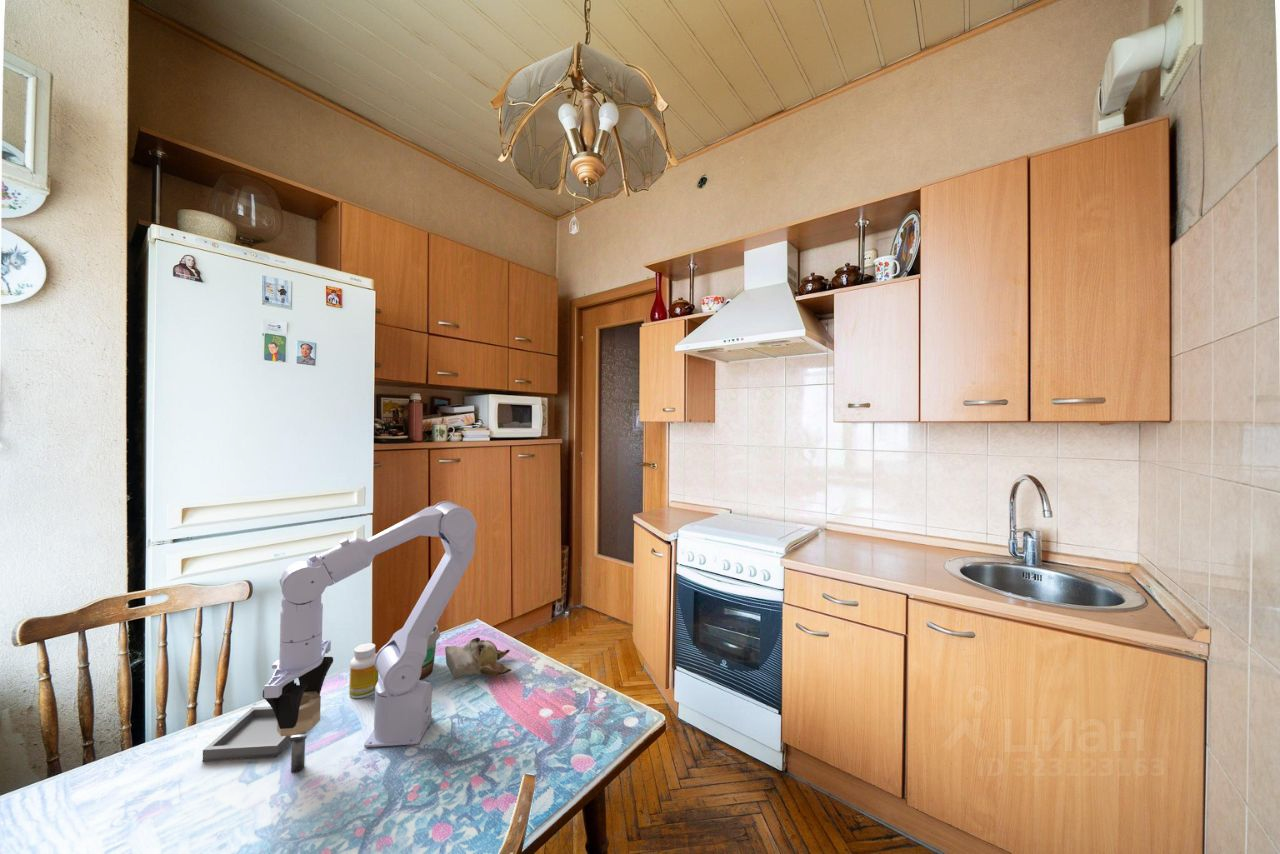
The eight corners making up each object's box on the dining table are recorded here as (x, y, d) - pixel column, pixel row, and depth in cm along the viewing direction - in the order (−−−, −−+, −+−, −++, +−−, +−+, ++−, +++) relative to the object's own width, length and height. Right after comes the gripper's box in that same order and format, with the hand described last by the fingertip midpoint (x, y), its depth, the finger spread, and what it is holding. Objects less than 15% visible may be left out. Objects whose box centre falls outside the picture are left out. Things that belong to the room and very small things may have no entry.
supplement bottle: (380, 693, 97) (381, 648, 97) (351, 702, 94) (352, 656, 94) (375, 681, 101) (376, 639, 101) (347, 690, 98) (348, 646, 98)
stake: (307, 764, 76) (308, 731, 76) (301, 772, 75) (302, 739, 75) (293, 765, 76) (294, 732, 76) (287, 773, 74) (288, 739, 74)
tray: (315, 714, 89) (316, 704, 89) (276, 757, 78) (277, 745, 78) (252, 717, 88) (252, 707, 88) (202, 761, 76) (202, 749, 76)
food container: (415, 691, 98) (416, 646, 98) (390, 687, 99) (392, 642, 99) (449, 662, 110) (451, 622, 110) (427, 659, 111) (429, 619, 111)
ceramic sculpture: (448, 629, 109) (511, 626, 114) (444, 665, 109) (508, 660, 113) (443, 651, 99) (513, 646, 103) (440, 690, 99) (510, 684, 103)
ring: (325, 713, 78) (325, 690, 78) (306, 734, 73) (307, 710, 73) (291, 715, 78) (292, 692, 78) (270, 736, 72) (271, 712, 72)
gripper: (302, 617, 82) (300, 690, 82) (243, 658, 68) (240, 747, 68) (343, 616, 83) (341, 689, 83) (293, 656, 69) (291, 744, 69)
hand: (299, 715), depth 75 cm, fingers closed on ring, 5 cm apart
